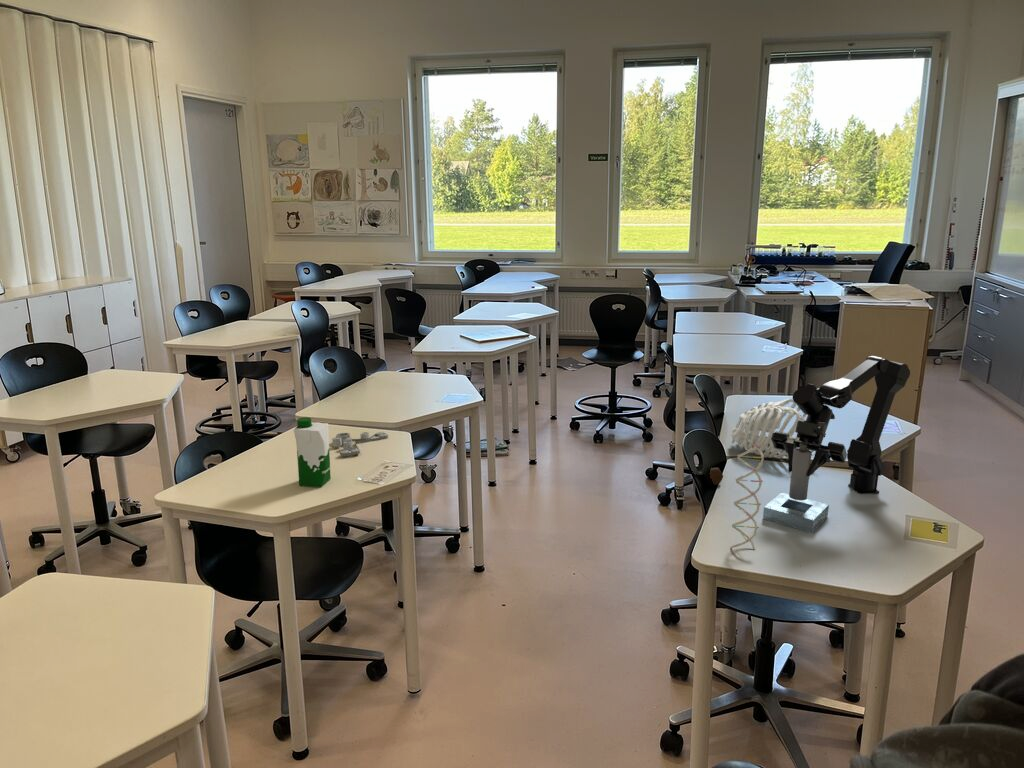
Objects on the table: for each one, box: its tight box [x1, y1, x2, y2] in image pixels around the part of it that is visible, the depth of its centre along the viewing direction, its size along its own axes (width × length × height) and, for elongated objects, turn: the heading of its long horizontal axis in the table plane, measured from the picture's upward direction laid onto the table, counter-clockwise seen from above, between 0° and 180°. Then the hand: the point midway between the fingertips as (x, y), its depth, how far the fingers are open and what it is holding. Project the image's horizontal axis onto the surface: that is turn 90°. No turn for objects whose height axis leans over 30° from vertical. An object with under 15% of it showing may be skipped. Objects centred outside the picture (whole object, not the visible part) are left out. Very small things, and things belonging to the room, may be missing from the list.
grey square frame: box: [762, 492, 830, 534], centre depth 197 cm, size 13×13×4 cm
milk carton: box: [293, 417, 331, 488], centre depth 219 cm, size 9×9×20 cm
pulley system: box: [331, 431, 389, 458], centre depth 256 cm, size 27×5×15 cm
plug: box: [788, 443, 813, 500], centre depth 194 cm, size 4×4×15 cm
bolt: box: [709, 467, 724, 486], centre depth 227 cm, size 6×5×15 cm
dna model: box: [729, 432, 767, 550], centre depth 176 cm, size 7×6×30 cm
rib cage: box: [730, 398, 815, 460], centre depth 248 cm, size 26×18×28 cm
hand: (798, 473), depth 194 cm, fingers closed on plug, 4 cm apart
